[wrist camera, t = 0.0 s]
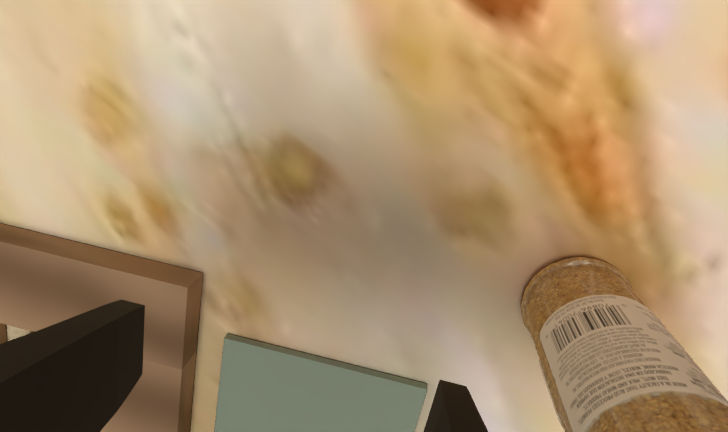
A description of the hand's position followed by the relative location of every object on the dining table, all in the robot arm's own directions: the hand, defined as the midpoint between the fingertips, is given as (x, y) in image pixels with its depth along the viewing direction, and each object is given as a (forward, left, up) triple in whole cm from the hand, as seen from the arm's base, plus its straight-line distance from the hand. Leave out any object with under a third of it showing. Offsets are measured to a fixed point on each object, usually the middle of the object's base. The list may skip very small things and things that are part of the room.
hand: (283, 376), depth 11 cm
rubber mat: (-12, 0, -10) cm, 16 cm away
